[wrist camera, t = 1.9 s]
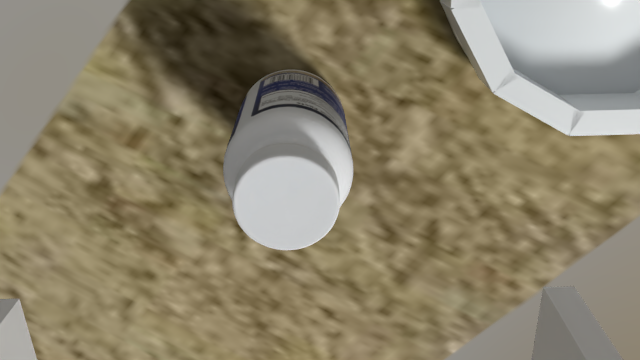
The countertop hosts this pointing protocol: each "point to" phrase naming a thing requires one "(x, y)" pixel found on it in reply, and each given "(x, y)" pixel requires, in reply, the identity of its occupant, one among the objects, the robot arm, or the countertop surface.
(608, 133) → the dish
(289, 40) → the countertop surface
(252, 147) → the pill bottle
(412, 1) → the countertop surface
